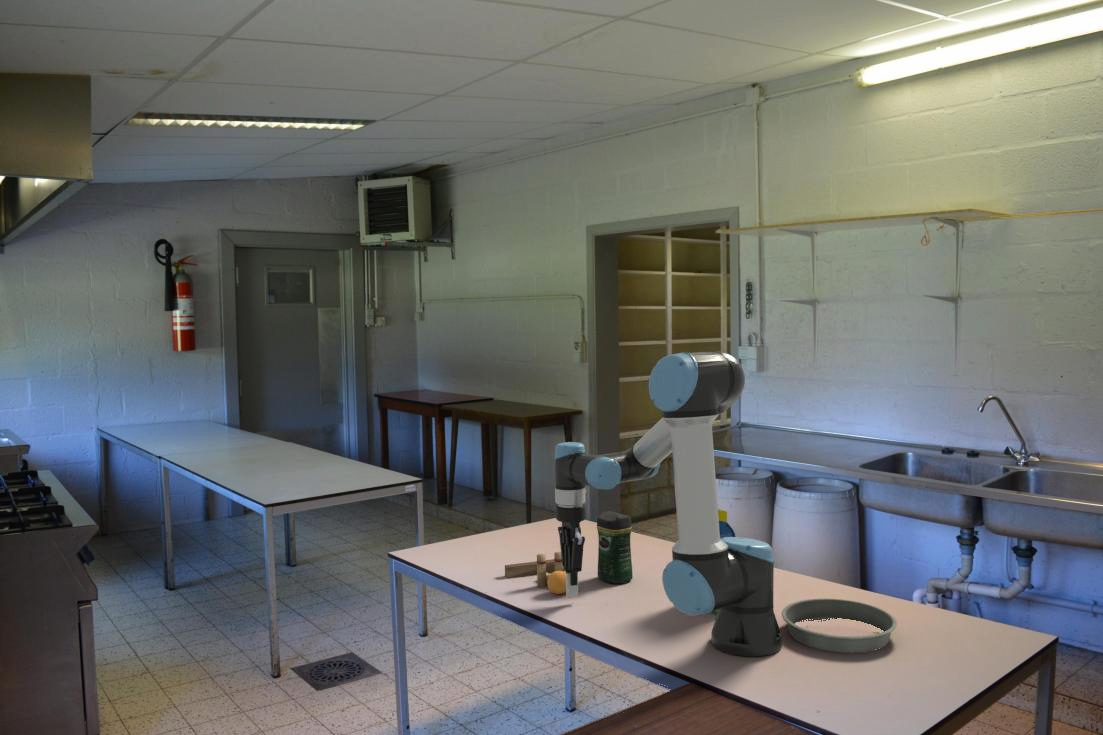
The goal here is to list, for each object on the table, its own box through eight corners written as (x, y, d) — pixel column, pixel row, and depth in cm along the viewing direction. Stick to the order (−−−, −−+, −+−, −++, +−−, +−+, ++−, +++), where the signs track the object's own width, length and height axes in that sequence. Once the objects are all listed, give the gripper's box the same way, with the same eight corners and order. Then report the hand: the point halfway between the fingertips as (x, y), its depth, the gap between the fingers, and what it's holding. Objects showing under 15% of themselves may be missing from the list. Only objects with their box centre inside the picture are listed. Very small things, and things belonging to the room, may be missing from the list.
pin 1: (547, 587, 231) (547, 555, 230) (539, 588, 230) (538, 556, 230) (544, 584, 233) (544, 553, 233) (535, 585, 233) (535, 554, 232)
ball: (563, 571, 230) (568, 594, 228) (542, 575, 228) (547, 598, 226) (569, 566, 225) (575, 589, 223) (548, 570, 223) (554, 593, 220)
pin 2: (565, 584, 233) (564, 553, 232) (556, 585, 232) (556, 554, 231) (562, 582, 235) (561, 551, 235) (553, 583, 234) (552, 552, 234)
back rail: (567, 570, 246) (567, 560, 245) (507, 578, 239) (507, 567, 239) (564, 568, 248) (564, 557, 248) (505, 575, 242) (504, 565, 242)
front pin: (557, 578, 230) (547, 569, 238) (549, 580, 229) (538, 571, 237) (558, 587, 230) (547, 578, 238) (549, 589, 229) (539, 580, 237)
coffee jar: (637, 580, 235) (636, 513, 234) (615, 586, 230) (614, 518, 229) (614, 572, 243) (613, 507, 242) (592, 578, 238) (591, 511, 237)
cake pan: (760, 625, 201) (760, 606, 201) (845, 610, 210) (845, 592, 209) (828, 665, 178) (828, 643, 178) (922, 646, 187) (922, 626, 187)
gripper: (594, 508, 211) (595, 602, 212) (575, 497, 223) (576, 587, 225) (565, 511, 208) (567, 606, 210) (547, 500, 221) (549, 590, 222)
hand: (572, 596), depth 217 cm, fingers closed
